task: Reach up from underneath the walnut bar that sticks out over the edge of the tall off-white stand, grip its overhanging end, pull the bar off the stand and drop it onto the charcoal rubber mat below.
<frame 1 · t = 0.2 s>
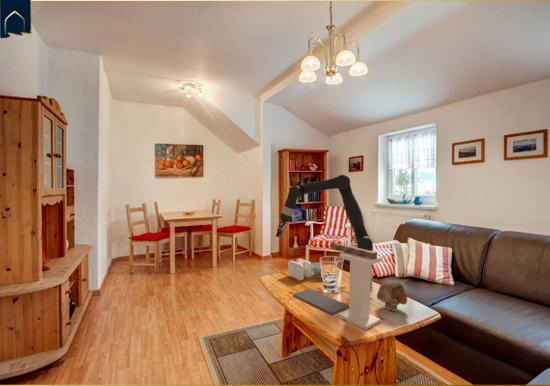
hand: (278, 235, 191), 31 cm above the table, tool tilted 20°, fingers open, 8 cm apart
cable organizer: (299, 277, 199), on the table
stand: (358, 319, 139), on the table
sculpture: (391, 309, 151), on the table
walnut bar: (352, 253, 142), point 32 cm above the table, touching stand
chinaware: (320, 276, 202), on the table
rubber mat: (319, 301, 160), on the table
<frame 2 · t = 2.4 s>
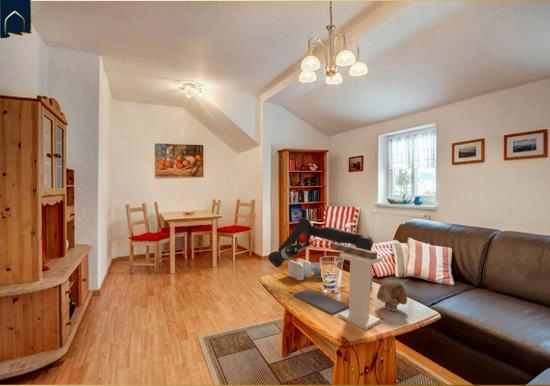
hand: (305, 243, 168), 31 cm above the table, tool pointing upward, fingers open, 8 cm apart
nothing on the table moved.
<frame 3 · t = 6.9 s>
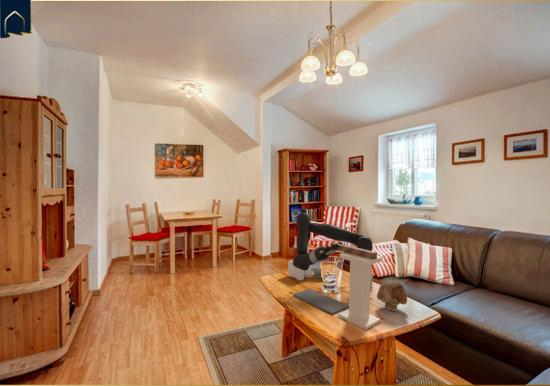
hand: (340, 244, 148), 35 cm above the table, tool pointing upward, fingers closed on walnut bar, 3 cm apart
walnut bar: (352, 253, 142), point 32 cm above the table, touching gripper, stand
everything else where it was.
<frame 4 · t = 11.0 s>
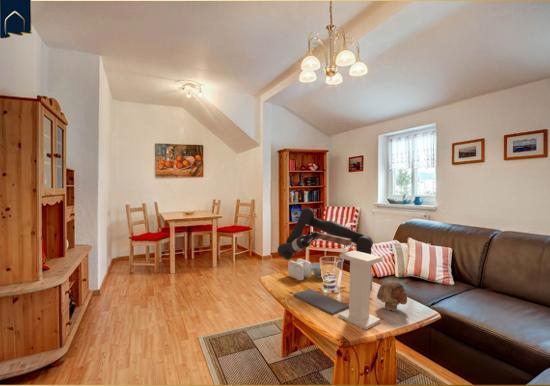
hand: (319, 233, 159), 39 cm above the table, tool pointing upward, fingers closed on walnut bar, 3 cm apart
walnut bar: (329, 240, 153), point 36 cm above the table, touching gripper
everything else where it was.
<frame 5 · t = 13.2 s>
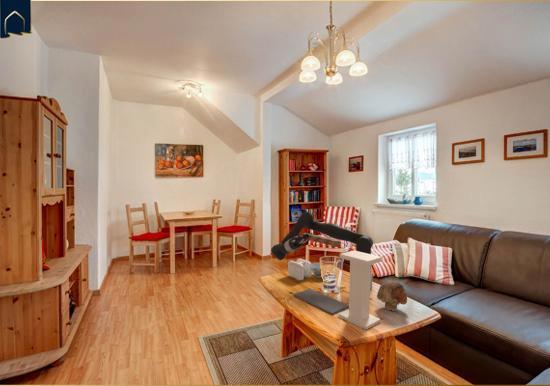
hand: (310, 234, 165), 37 cm above the table, tool pointing upward, fingers closed on walnut bar, 3 cm apart
walnut bar: (319, 242, 159), point 34 cm above the table, touching gripper
everything else where it was.
when the fingers open (26 cm above the table, at t = 14.9 s): walnut bar drops 22 cm, resting on rubber mat.
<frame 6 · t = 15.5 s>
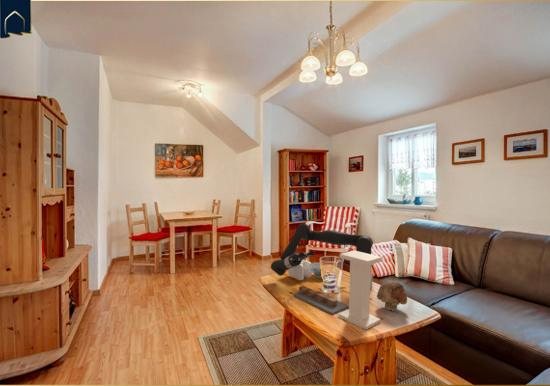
hand: (308, 252, 166), 26 cm above the table, tool pointing upward, fingers open, 8 cm apart
walnut bar: (317, 298, 161), point 1 cm above the table, touching rubber mat
everything else where it was.
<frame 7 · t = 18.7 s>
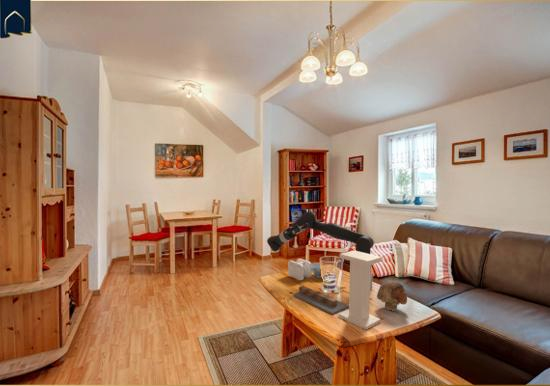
hand: (302, 225, 172), 41 cm above the table, tool pointing upward, fingers open, 8 cm apart
nothing on the table moved.
at the end: walnut bar inside the target area on the rubber mat (2.2 cm from its centre), point 1.0 cm above the rubber mat's base; walnut bar touching rubber mat; the gripper is holding nothing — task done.
